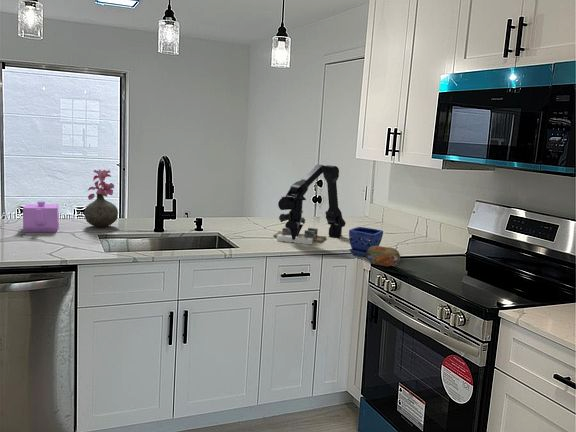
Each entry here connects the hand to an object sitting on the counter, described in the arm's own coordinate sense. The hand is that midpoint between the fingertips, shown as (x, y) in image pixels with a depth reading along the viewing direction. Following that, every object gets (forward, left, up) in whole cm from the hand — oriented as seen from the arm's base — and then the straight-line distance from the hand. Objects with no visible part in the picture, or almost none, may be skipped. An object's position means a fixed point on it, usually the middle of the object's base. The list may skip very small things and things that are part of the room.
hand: (294, 239), depth 276 cm
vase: (+101, +18, -2) cm, 103 cm away
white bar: (0, 0, -2) cm, 2 cm away
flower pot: (-37, +9, -2) cm, 38 cm away
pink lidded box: (+121, +39, -2) cm, 127 cm away
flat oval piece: (-47, +26, -2) cm, 54 cm away
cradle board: (0, -12, -2) cm, 12 cm away
